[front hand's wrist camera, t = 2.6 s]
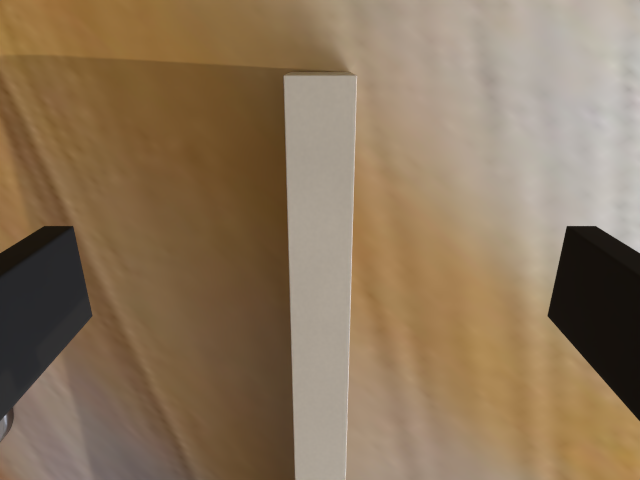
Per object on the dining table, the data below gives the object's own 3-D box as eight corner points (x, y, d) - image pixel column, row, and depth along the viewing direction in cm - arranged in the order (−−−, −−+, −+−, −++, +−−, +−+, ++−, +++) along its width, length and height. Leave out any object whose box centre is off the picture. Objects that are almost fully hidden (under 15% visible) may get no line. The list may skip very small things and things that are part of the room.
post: (289, 72, 44) (283, 75, 36) (350, 71, 44) (357, 75, 36) (302, 606, 75) (300, 669, 67) (338, 606, 75) (340, 669, 67)
